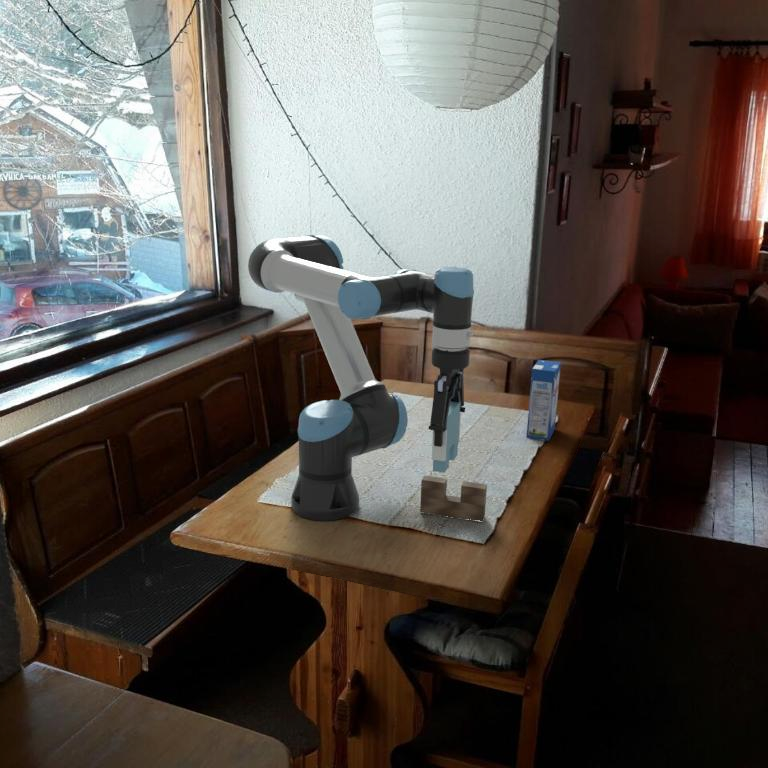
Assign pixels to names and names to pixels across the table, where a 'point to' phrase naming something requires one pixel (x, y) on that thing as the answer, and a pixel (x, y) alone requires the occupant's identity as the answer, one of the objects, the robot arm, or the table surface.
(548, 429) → the milk carton
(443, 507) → the walnut slotted plate
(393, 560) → the table surface
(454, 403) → the teal slotted plate
